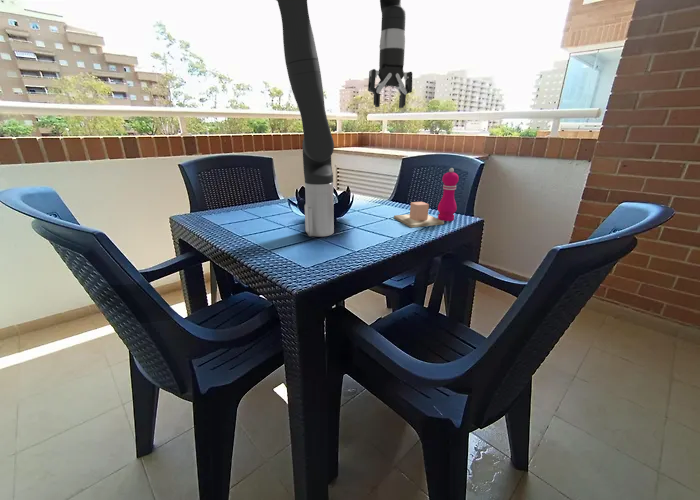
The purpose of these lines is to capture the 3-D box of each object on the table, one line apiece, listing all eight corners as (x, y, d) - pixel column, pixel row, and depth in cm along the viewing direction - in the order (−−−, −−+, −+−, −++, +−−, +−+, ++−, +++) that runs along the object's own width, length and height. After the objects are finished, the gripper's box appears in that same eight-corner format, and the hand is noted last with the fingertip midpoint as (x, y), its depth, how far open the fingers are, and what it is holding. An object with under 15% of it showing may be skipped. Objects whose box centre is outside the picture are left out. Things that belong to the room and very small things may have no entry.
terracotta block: (415, 220, 121) (417, 205, 119) (409, 217, 125) (410, 202, 123) (427, 219, 123) (428, 204, 120) (420, 216, 127) (422, 201, 125)
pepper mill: (457, 221, 124) (464, 169, 117) (438, 221, 124) (444, 169, 117) (452, 216, 131) (458, 166, 123) (434, 216, 131) (439, 166, 124)
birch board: (411, 227, 116) (411, 224, 116) (394, 217, 128) (394, 215, 128) (443, 224, 120) (444, 221, 120) (424, 215, 133) (424, 212, 132)
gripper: (375, 44, 91) (373, 106, 97) (419, 48, 96) (414, 107, 101) (365, 50, 98) (364, 107, 104) (407, 53, 102) (403, 108, 108)
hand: (389, 107), depth 103 cm, fingers open, 8 cm apart
